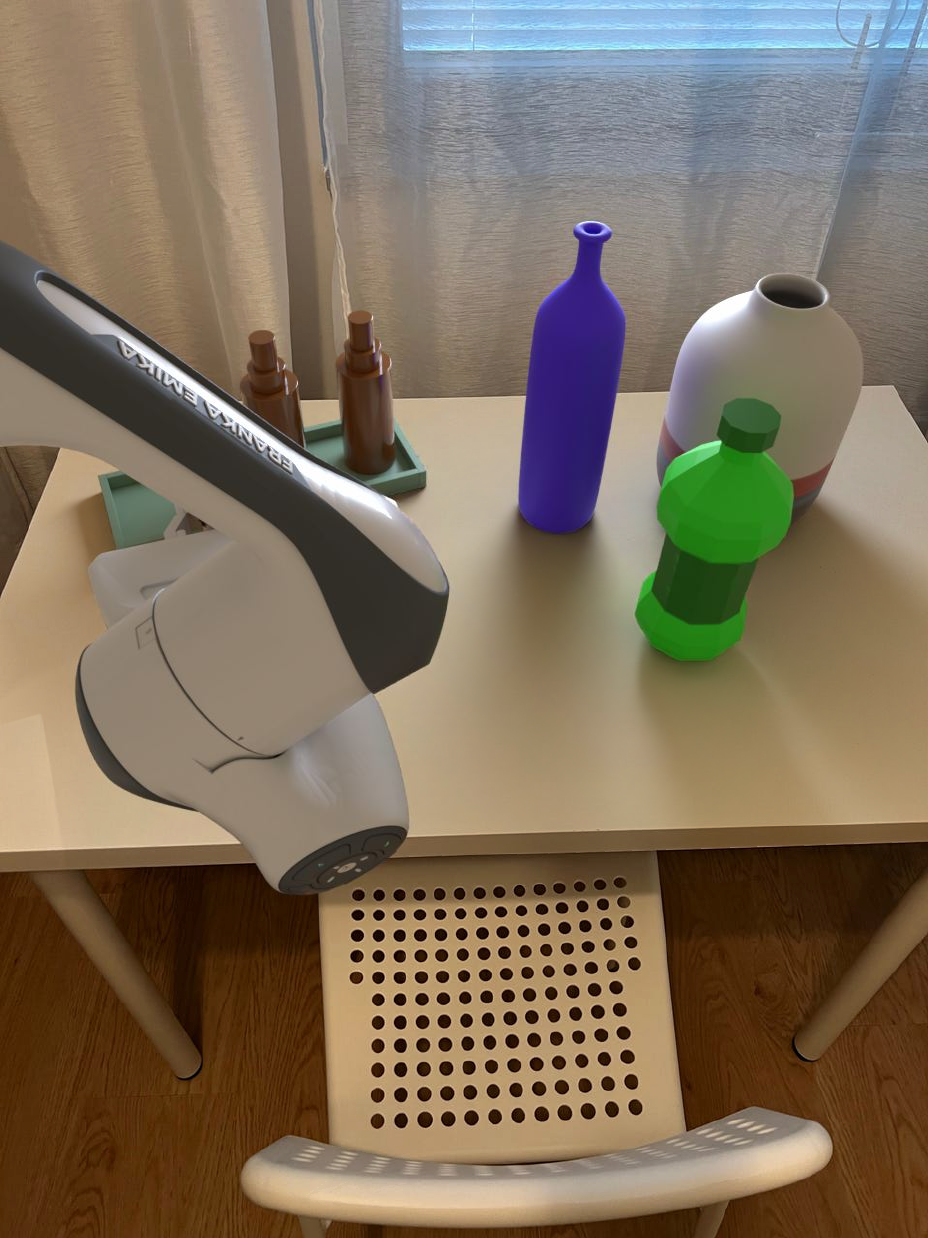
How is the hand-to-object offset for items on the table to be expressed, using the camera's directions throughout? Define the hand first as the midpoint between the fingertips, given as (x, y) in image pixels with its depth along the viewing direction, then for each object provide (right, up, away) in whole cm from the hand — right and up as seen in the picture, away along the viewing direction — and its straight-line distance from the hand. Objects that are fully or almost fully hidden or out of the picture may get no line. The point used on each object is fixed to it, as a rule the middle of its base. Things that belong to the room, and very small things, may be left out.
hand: (235, 495), depth 65 cm
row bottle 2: (+6, +9, +36) cm, 37 cm away
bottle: (+26, +3, +32) cm, 41 cm away
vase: (+44, +4, +34) cm, 56 cm away
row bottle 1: (-3, +6, +33) cm, 34 cm away
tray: (-5, +5, +33) cm, 34 cm away
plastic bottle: (+36, -11, +21) cm, 43 cm away
